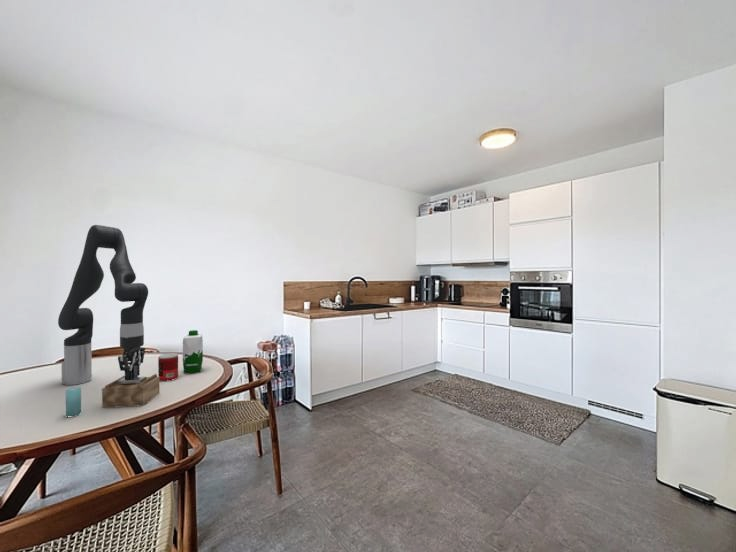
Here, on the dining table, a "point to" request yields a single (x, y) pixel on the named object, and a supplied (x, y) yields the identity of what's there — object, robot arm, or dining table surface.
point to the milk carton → (192, 352)
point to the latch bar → (133, 377)
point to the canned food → (168, 366)
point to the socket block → (130, 392)
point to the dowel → (73, 401)
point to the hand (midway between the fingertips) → (132, 377)
